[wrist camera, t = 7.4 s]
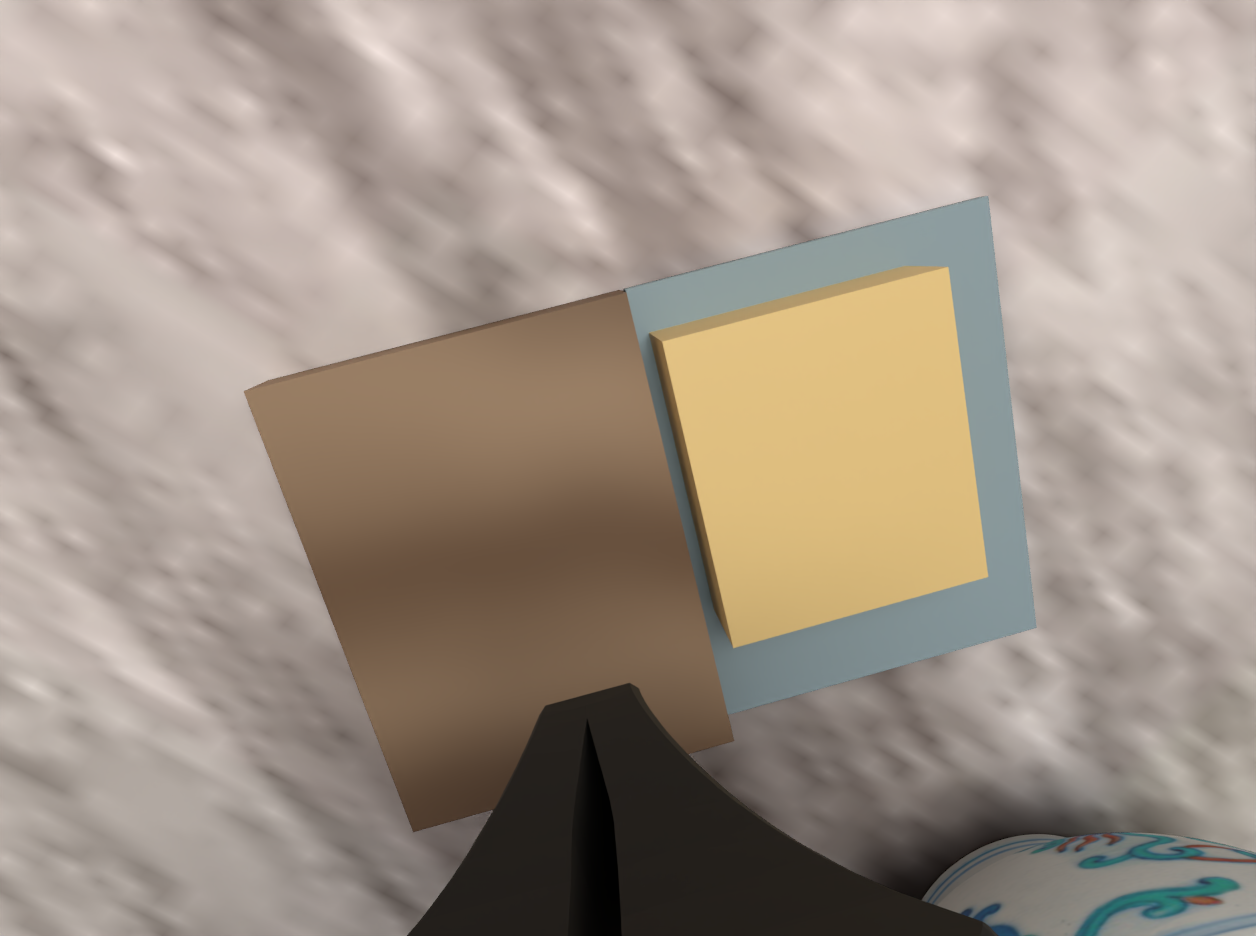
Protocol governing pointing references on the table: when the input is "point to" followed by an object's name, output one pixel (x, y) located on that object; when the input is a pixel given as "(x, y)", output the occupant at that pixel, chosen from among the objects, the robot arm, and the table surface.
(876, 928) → the robot arm
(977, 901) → the chinaware
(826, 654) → the mat
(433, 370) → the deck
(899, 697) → the table surface
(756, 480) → the tile
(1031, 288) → the table surface
